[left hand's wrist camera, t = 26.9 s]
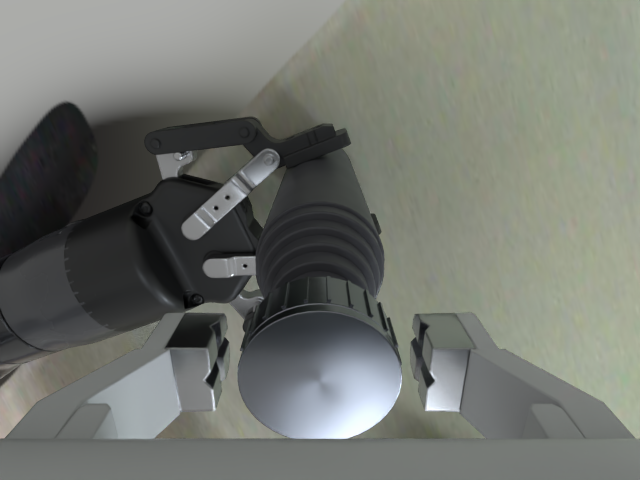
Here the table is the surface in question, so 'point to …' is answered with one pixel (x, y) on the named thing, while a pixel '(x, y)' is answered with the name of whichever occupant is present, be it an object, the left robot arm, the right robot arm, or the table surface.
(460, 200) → the table surface
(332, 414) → the cap
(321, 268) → the bottle
